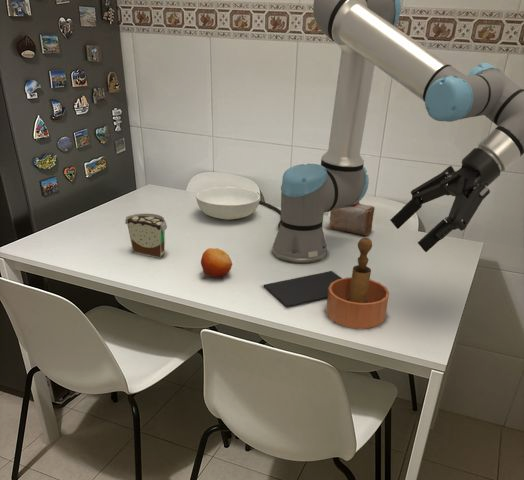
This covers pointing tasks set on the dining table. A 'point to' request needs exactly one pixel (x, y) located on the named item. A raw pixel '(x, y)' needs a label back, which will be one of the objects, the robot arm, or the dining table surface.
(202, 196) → the serving bowl
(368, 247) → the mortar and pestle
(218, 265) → the fruit
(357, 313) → the copper pot
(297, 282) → the rubber mat
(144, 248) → the food container
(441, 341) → the dining table surface
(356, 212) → the food item
